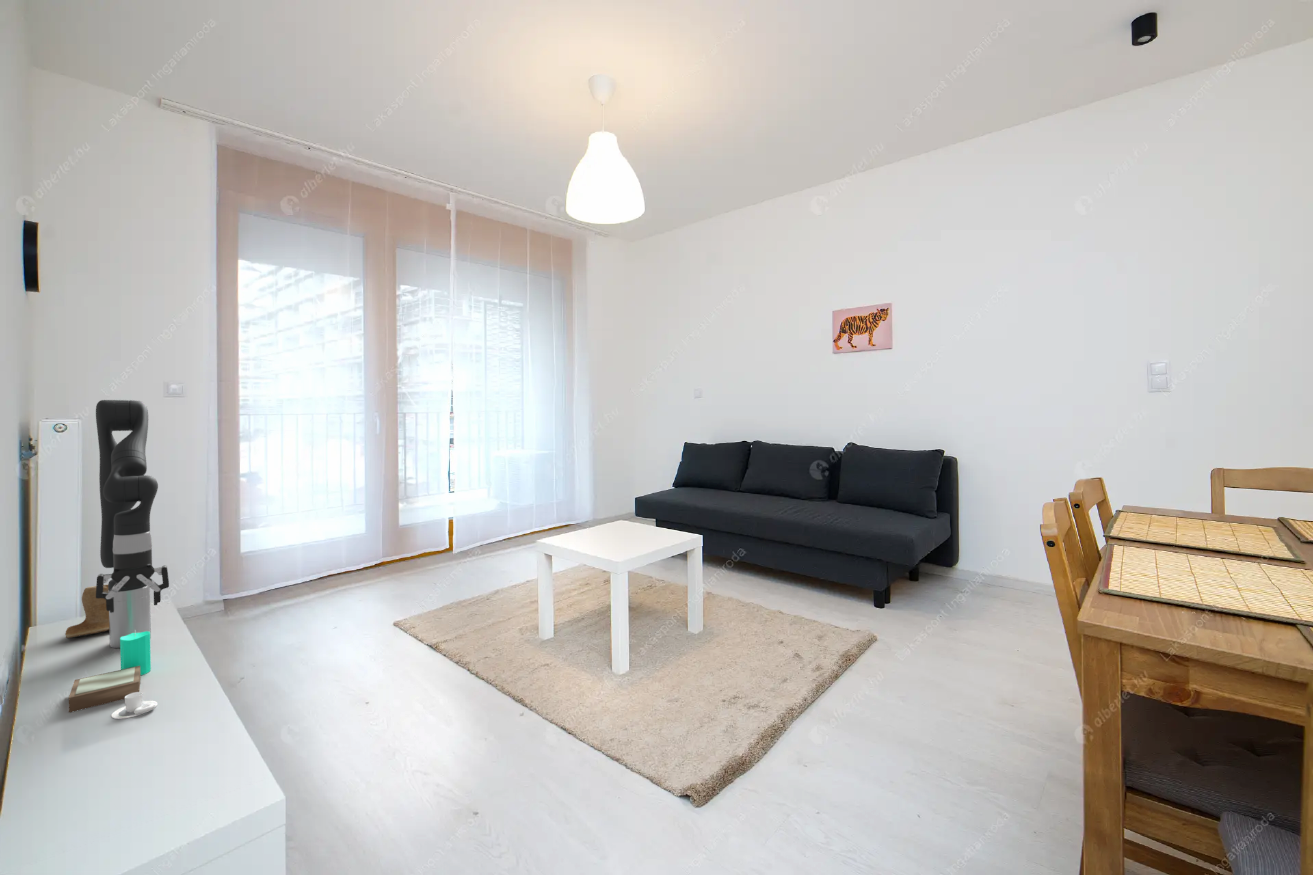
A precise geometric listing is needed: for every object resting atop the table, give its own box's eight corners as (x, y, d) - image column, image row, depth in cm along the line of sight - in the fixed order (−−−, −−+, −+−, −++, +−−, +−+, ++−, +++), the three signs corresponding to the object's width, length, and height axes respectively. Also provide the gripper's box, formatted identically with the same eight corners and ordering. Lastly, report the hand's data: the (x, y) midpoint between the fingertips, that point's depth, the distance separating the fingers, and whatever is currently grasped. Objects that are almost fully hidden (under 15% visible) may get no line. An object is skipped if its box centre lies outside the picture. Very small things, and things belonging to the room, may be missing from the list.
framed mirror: (75, 693, 137) (74, 678, 137) (140, 678, 145) (140, 664, 145) (68, 712, 128) (68, 697, 128) (139, 695, 136) (138, 680, 136)
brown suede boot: (129, 619, 186) (128, 576, 186) (133, 628, 178) (132, 584, 178) (64, 632, 175) (63, 586, 174) (65, 643, 167) (64, 595, 166)
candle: (157, 668, 151) (156, 626, 150) (134, 678, 145) (133, 634, 144) (137, 667, 151) (136, 625, 151) (114, 677, 145) (113, 633, 145)
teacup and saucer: (159, 712, 129) (158, 695, 129) (112, 726, 123) (111, 708, 123) (155, 699, 135) (155, 683, 135) (110, 711, 129) (110, 694, 129)
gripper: (168, 542, 154) (169, 598, 155) (96, 550, 145) (98, 610, 145) (168, 547, 149) (169, 605, 149) (93, 556, 139) (95, 618, 140)
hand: (134, 608), depth 147 cm, fingers open, 8 cm apart
